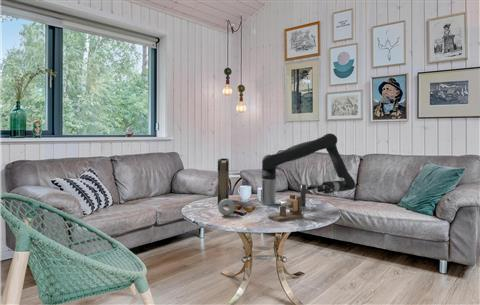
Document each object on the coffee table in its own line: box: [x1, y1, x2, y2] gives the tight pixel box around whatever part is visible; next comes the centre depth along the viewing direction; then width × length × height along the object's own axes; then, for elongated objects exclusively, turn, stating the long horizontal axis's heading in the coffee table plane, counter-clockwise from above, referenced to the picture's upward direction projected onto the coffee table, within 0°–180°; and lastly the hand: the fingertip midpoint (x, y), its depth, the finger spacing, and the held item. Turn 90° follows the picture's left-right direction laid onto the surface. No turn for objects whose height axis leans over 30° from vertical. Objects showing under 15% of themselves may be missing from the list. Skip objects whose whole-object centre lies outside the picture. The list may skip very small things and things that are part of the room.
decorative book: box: [217, 158, 230, 207], centre depth 247 cm, size 23×7×30 cm, turn 0°
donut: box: [217, 198, 236, 217], centre depth 209 cm, size 10×3×10 cm, turn 99°
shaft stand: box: [267, 194, 305, 223], centre depth 205 cm, size 9×19×12 cm, turn 126°
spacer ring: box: [285, 197, 298, 211], centre depth 207 cm, size 7×2×6 cm, turn 36°
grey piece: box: [279, 183, 307, 208], centre depth 208 cm, size 3×18×13 cm, turn 126°
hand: (312, 189), depth 217 cm, fingers open, 8 cm apart
